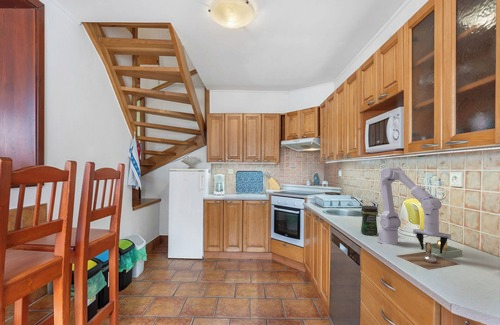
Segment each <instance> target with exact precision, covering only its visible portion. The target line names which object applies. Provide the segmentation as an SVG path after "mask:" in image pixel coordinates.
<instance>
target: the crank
mask: <svg viewBox="0 0 500 325" xmlns="http://www.w3.org/2000/svg"><path fill="white" fill-rule="evenodd" d="M432 244H433V243H432V242H428V241H426V242H425V244H424V245H425V247H426V251H425V252H426V255H425V256H424V261H426V262H429V263H436V258H435V257H433V256H432V254H433V253H432Z"/></svg>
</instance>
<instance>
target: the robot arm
mask: <svg viewBox="0 0 500 325" xmlns="http://www.w3.org/2000/svg"><path fill="white" fill-rule="evenodd" d="M379 173H380V178H379V184H380V185H379V186H380V193H381V201H382V209H383V211H382V213H381V214H380V219H379V225H380V226H381V227H380V228H379V229H378V240H377V243H379V244H382V245H383V244H386V245H391V246H397V245H398V244H399V227H401V225H402V223H401V222H402V221H401V219H400V217H399V214H398V213H397V212H396V211H395V203H394V196H393V191H392V190H393V189H392V184H393V183H394V182H395V181H400V182H401V183H402V184H403V185H404V186H405V187H407V189H409V190H410V194H411V195H412V196H413V197H414V199H416V200H417V201H418V202H419V203H420V206H421V208H422V209H423V210H422V211H423V229H418V228H417V229H416V228H413V230H412V234H414V235H415V236H416V238H417V240H418V242H419V244H420V248H421V250H422V251H425V250H424V245H425V244H424V236H427V237H434V238H439V240H440V253H441V254H442V250H443V247H444V245H445V243H446V242H447V243H448V240H449V241H450V240H452V234H449V233H443V232H440V213H439V212H440V211H439V210H440V209H441V208H442V206H443V205H442V201H440V199H439V198H438V197H435V196H433V195H432V194H430V193H429V192H428V191H427V190H426V188H425V187H423V186H421V185H420V186H419V185H417V184H416V183H415V182H414V181H413V180H412V179H411V178H410V177H409V176H408V175H407V174H406V173H405V171H404V170H403V169H402V168H401V167H399V166H395V167H394V166H393V167H390V166H389V167H387V166H385V167H384V168H382V169H381V170H380V172H379Z"/></svg>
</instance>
